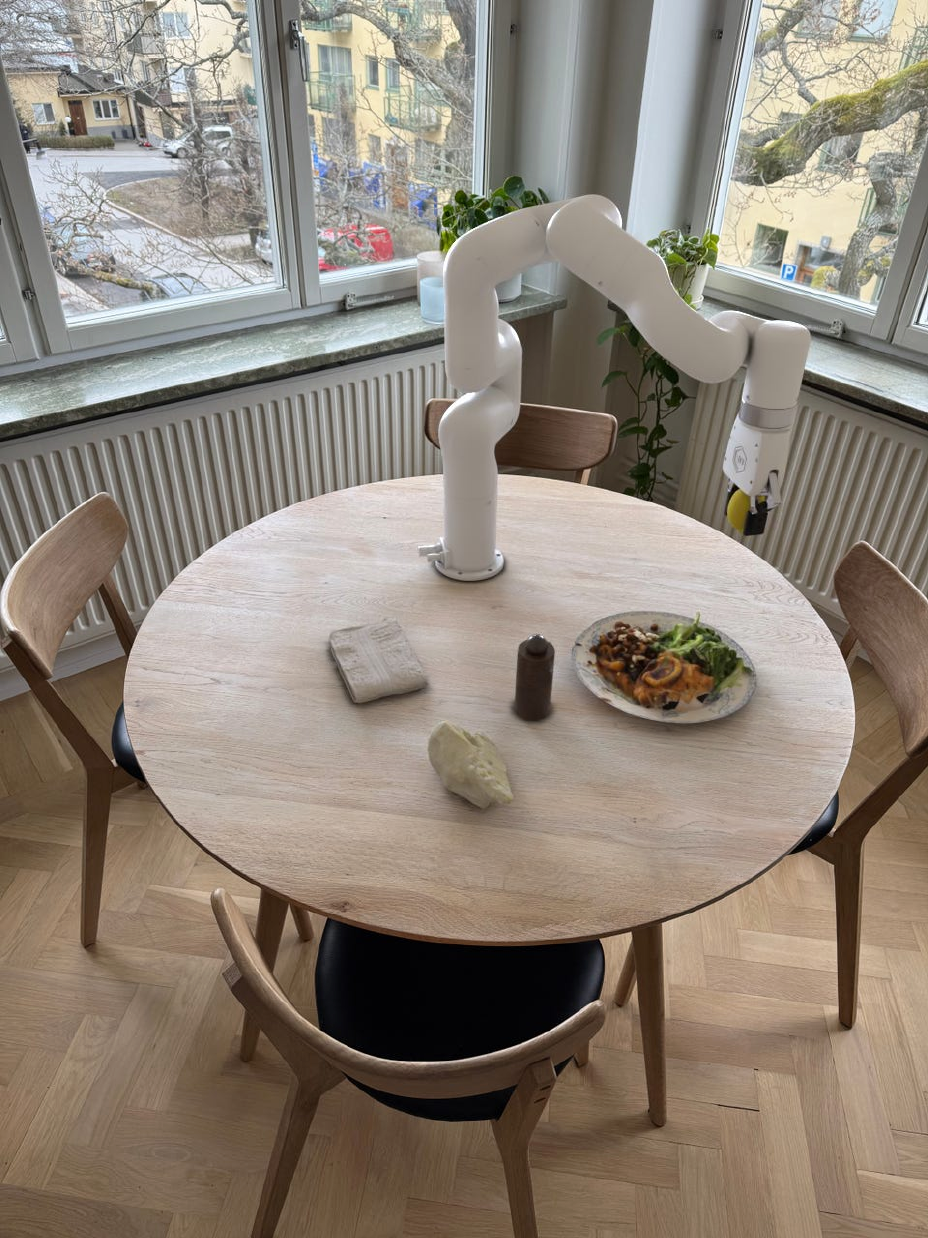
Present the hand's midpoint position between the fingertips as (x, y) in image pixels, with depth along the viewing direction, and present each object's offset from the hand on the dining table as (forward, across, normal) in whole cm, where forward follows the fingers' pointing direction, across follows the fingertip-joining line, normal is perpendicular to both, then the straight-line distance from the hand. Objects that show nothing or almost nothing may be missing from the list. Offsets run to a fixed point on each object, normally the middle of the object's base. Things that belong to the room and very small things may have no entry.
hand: (743, 523), depth 139 cm
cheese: (+20, +28, -48) cm, 59 cm away
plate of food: (+20, +9, -15) cm, 26 cm away
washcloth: (+20, -2, -58) cm, 61 cm away
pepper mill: (+20, +13, -37) cm, 44 cm away
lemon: (+2, 0, 0) cm, 2 cm away
